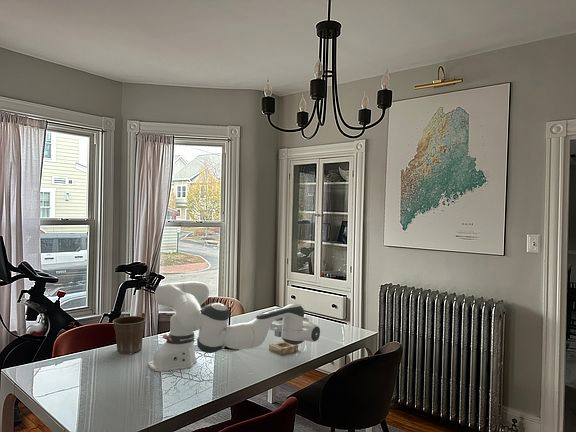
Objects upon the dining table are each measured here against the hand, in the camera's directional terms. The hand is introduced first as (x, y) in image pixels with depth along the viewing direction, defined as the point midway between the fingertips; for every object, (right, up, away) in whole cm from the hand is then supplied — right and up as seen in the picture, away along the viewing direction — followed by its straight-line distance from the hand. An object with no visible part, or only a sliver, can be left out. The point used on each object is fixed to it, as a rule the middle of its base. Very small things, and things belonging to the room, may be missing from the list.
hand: (279, 320), depth 234 cm
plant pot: (-78, -16, 0) cm, 80 cm away
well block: (+2, -17, +4) cm, 17 cm away
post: (0, -8, -1) cm, 8 cm away
